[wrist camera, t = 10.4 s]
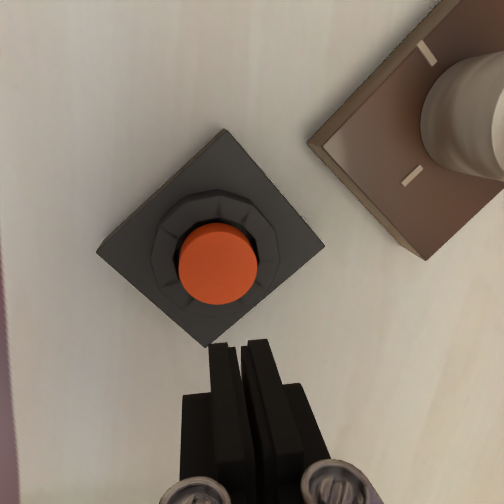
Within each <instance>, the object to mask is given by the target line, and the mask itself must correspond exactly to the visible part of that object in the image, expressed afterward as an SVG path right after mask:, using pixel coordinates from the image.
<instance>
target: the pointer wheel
mask: <svg viewBox="0 0 504 504" xmlns="http://www.w3.org/2000/svg"><path fill="white" fill-rule="evenodd" d="M420 129H421V137H422V141H423V144H424V147H425V149H426V151H427V153H428V154H429V156H430V157H431V158H432V159H433V160H434V161H435V162H436V163H437V164H438V165H440V166H442V167H443V168H445V169H448V170H451V171H456V172H461V173H465V174H470V175H474V176H479V177H484V178H488V179H493V180H498V181H502V182H504V51H500V52H495V53H490V54H485V55H480V56H476V57H471V58H467V59H464V60H462V61H460V62H458V63H456V64H454V65H453V66H451V67H450V68H448V69H447V70H446V71H445V72H444V73H443V74H442V75H441V76H440V77H439V78H438V79H437V80H436V82H435V83H434V85H433V86H432V88H431V89H430V91H429V93H428V95H427V97H426V100H425V102H424V105H423V109H422V113H421V122H420Z"/></svg>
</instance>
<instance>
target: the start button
mask: <svg viewBox="0 0 504 504" xmlns="http://www.w3.org/2000/svg"><path fill="white" fill-rule="evenodd" d="M256 274H257V260H256V256H255V254H254V251H253V249H252V247H251V245H250V242H249V241H248V239H247V237H246V236H245V235H244V234H243V233H242V232H241V231H240V230H238V229H237V228H235V227H233V226H231V225H228V224H224V223H210V224H206V225H203V226H201V227H199V228H197V229H195V230H194V231H193V232H191V233H190V234H189V235H188V236H187V238H186V239H185V241H184V243H183V245H182V247H181V251H180V258H179V277H180V280H181V283H182V285H183V287H184V288H185V289H186V291H187V292H188V293H189V294H190V295H191V296H193V297H194V298H195V299H197V300H199V301H201V302H204V303H207V304H215V305H219V304H227V303H230V302H233V301H235V300H237V299H239V298H240V297H242V296H243V295H244V294H245V293H246V292H247V291H248V290H249V289H250V288H251V286H252V284H253V283H254V280H255V278H256Z"/></svg>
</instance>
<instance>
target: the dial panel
mask: <svg viewBox="0 0 504 504" xmlns="http://www.w3.org/2000/svg"><path fill="white" fill-rule="evenodd" d="M500 51H504V0H442V1H441V2H440V3H439V4H438V5H437V6H436V7H435V8H434V9H433V10H432V11H431V12H430V13H429V14H428V15H427V16H426V17H425V19H424V20H423V21H422V22H421V23H420V24H419V25H418V26H417V27H416V28H415V29H414V30H413V31H412V32H411V33H410V34H409V35H408V36H407V38H406V39H405V40H404V41H403V42H402V43H401V44H400V45H399V46H398V47H397V48H396V49H395V50H394V51H393V52H392V53H391V54H390V55H389V57H388V58H387V59H386V60H385V61H384V62H383V63H382V64H381V65H380V66H379V67H378V68H377V69H376V70H375V71H374V72H373V73H372V74H371V75H370V77H369V78H368V79H367V80H366V81H365V82H364V83H363V84H362V85H361V86H360V87H359V88H358V89H357V90H356V91H355V92H354V93H353V94H352V96H351V97H350V98H349V99H348V100H347V101H346V102H345V103H344V104H343V105H342V106H341V107H340V108H339V109H338V110H337V111H336V112H335V113H334V114H333V116H332V117H331V118H330V119H329V120H328V121H327V122H326V123H325V124H324V125H323V126H322V127H321V128H320V129H319V130H318V131H317V132H316V133H315V135H314V136H313V137H312V138H311V139H310V140H309V141H308V142H307V145H308V146H309V147H310V148H311V149H312V150H313V151H314V152H315V153H316V154H317V155H318V156H319V158H320V159H321V160H322V161H323V162H324V163H325V164H326V165H327V166H328V167H329V168H330V169H331V170H332V171H333V173H334V174H335V175H336V176H337V177H338V178H339V179H340V180H341V181H342V182H343V183H344V184H345V185H346V187H347V188H348V189H349V190H350V191H351V192H352V193H353V194H354V195H355V196H356V197H357V198H358V199H359V201H360V202H361V203H362V204H363V205H364V206H365V207H366V208H367V209H368V210H369V211H370V212H371V213H372V215H373V216H374V217H375V218H376V219H377V220H378V221H379V222H380V223H381V224H382V225H383V226H384V227H385V229H386V230H387V231H388V232H389V233H390V234H391V235H392V236H393V237H394V238H395V239H396V240H397V241H398V243H399V244H400V245H401V246H402V247H404V248H406V249H407V250H409V251H410V252H412V253H414V254H415V255H417V256H418V257H420V258H421V259H423V260H425V261H426V260H428V259H429V258H430V257H431V256H432V255H433V254H434V253H435V252H436V251H437V250H438V249H439V248H441V247H442V246H443V245H444V244H445V243H446V242H447V241H448V240H449V239H450V238H451V237H452V236H453V235H454V234H455V233H457V232H458V231H459V230H460V229H461V228H462V227H463V226H464V225H465V224H466V223H467V222H468V221H469V220H470V219H471V218H473V217H474V216H475V215H476V214H477V213H478V212H479V211H480V210H481V209H482V208H483V207H484V206H485V205H486V204H488V203H489V202H490V201H491V200H492V199H493V198H494V197H495V196H496V195H497V194H498V193H499V192H500V191H501V190H502V189H504V182H502V181H498V180H493V179H488V178H484V177H479V176H474V175H470V174H465V173H461V172H456V171H451V170H448V169H445V168H443V167H442V166H440V165H438V164H437V163H436V162H435V161H434V160H433V159H432V158H431V157H430V156H429V154H428V153H427V151H426V149H425V147H424V144H423V141H422V137H421V129H420V122H421V113H422V109H423V105H424V102H425V100H426V97H427V95H428V93H429V91H430V89H431V88H432V86H433V85H434V83H435V82H436V80H437V79H438V78H439V77H440V76H441V75H442V74H443V73H444V72H445V71H446V70H447V69H448V68H450V67H451V66H453V65H454V64H456V63H458V62H460V61H462V60H464V59H467V58H471V57H476V56H480V55H485V54H490V53H495V52H500Z"/></svg>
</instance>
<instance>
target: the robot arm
mask: <svg viewBox="0 0 504 504" xmlns="http://www.w3.org/2000/svg"><path fill="white" fill-rule="evenodd" d="M208 349H209V366H210V383H211V392H208V393H199V394H189V395H183V398H182V424H181V453H180V481H179V482H177V483H176V484H175V485H173V486H172V487H171V488H169V489H168V490H167V491H166V493H165V494H164V495H163V497H162V498H161V500H160V502H159V504H384V503H383V501H382V499H381V498H380V496H379V495H378V493H377V492H376V490H375V489H374V487H373V486H372V484H371V483H370V481H369V480H368V478H367V477H366V476H365V475H364V474H363V473H362V472H361V471H360V470H359V469H358V468H356V467H355V466H353V465H352V464H349V463H347V462H344V461H342V460H335V459H331V457H330V455H329V452H328V450H327V447H326V445H325V442H324V440H323V437H322V435H321V432H320V430H319V427H318V425H317V422H316V420H315V417H314V415H313V412H312V410H311V407H310V405H309V402H308V400H307V397H306V395H305V392H304V390H303V387H302V386H301V384H300V383H294V384H284V385H282V382H281V379H280V376H279V373H278V370H277V367H276V364H275V361H274V358H273V355H272V352H271V349H270V346H269V342H268V340H267V339H259V340H248V346H241V376H240V370H239V365H238V359H237V354H236V348H235V347H228V344H227V342H225V343H214V344H208ZM241 377H242V381H241Z"/></svg>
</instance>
